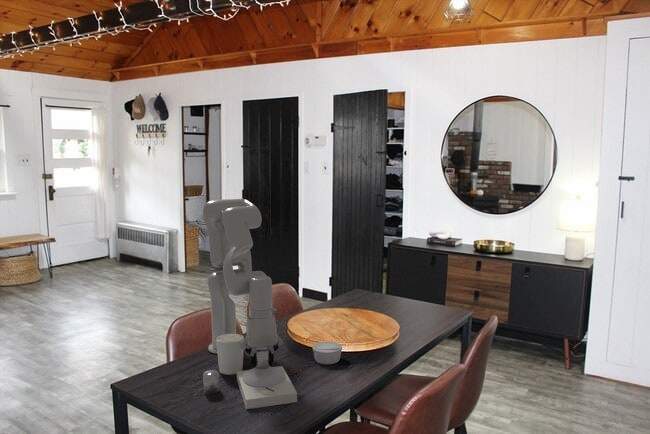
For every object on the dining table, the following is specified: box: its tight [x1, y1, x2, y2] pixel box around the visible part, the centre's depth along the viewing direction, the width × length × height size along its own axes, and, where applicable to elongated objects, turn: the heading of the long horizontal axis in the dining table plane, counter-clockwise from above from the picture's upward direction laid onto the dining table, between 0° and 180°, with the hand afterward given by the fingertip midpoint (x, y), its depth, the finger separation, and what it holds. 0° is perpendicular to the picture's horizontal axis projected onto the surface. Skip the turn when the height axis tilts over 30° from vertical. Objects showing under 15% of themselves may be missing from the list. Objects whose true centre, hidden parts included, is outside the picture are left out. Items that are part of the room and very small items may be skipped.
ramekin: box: [312, 341, 343, 365], centre depth 198 cm, size 11×11×5 cm
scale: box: [236, 365, 298, 410], centre depth 172 cm, size 22×16×4 cm
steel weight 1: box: [202, 369, 220, 395], centre depth 172 cm, size 5×5×6 cm
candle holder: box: [216, 333, 245, 376], centre depth 188 cm, size 10×10×12 cm
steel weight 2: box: [254, 346, 271, 370], centre depth 177 cm, size 5×5×6 cm
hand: (262, 364), depth 178 cm, fingers closed on steel weight 2, 5 cm apart
